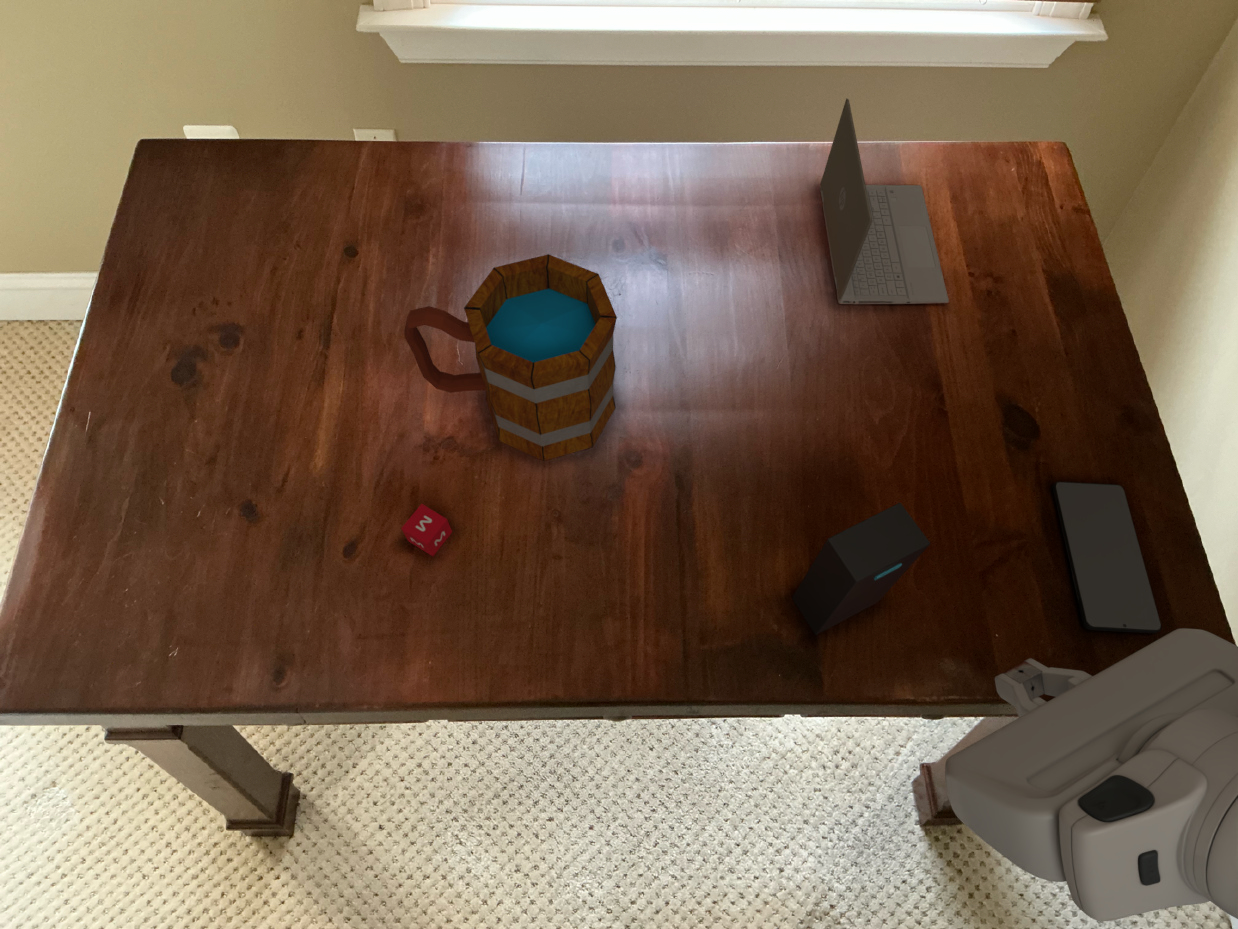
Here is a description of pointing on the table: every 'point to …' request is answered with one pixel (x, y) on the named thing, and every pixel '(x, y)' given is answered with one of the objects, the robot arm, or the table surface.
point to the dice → (427, 529)
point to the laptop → (876, 232)
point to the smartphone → (1105, 558)
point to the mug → (533, 353)
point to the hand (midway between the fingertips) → (1012, 675)
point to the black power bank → (859, 567)
